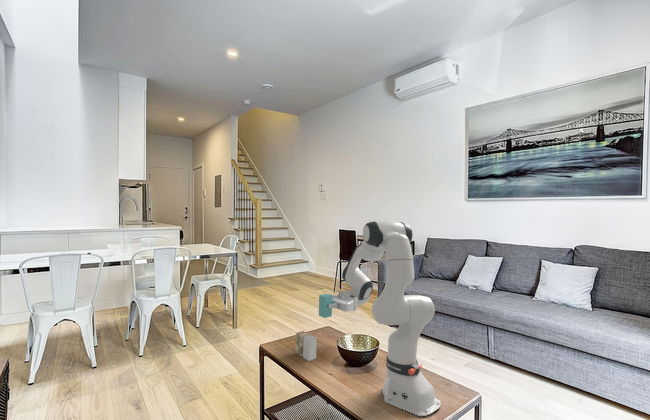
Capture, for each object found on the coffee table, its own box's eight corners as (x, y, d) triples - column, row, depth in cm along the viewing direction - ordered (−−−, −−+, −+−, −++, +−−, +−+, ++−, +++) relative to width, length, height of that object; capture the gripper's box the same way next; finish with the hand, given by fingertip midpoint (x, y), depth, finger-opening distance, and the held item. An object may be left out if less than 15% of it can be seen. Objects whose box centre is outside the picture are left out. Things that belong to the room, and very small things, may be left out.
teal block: (331, 316, 163) (332, 295, 163) (324, 318, 160) (325, 297, 160) (325, 313, 166) (326, 293, 166) (318, 315, 163) (319, 295, 163)
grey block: (316, 358, 161) (316, 337, 161) (308, 361, 158) (309, 339, 158) (310, 355, 164) (310, 334, 164) (302, 357, 161) (303, 336, 161)
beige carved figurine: (308, 353, 165) (308, 333, 165) (301, 356, 162) (301, 335, 162) (302, 350, 169) (303, 331, 169) (295, 353, 166) (296, 333, 166)
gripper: (331, 289, 179) (310, 293, 170) (359, 298, 164) (338, 303, 155) (330, 301, 179) (310, 306, 170) (358, 311, 164) (338, 317, 155)
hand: (324, 304), depth 162 cm, fingers closed on teal block, 4 cm apart
